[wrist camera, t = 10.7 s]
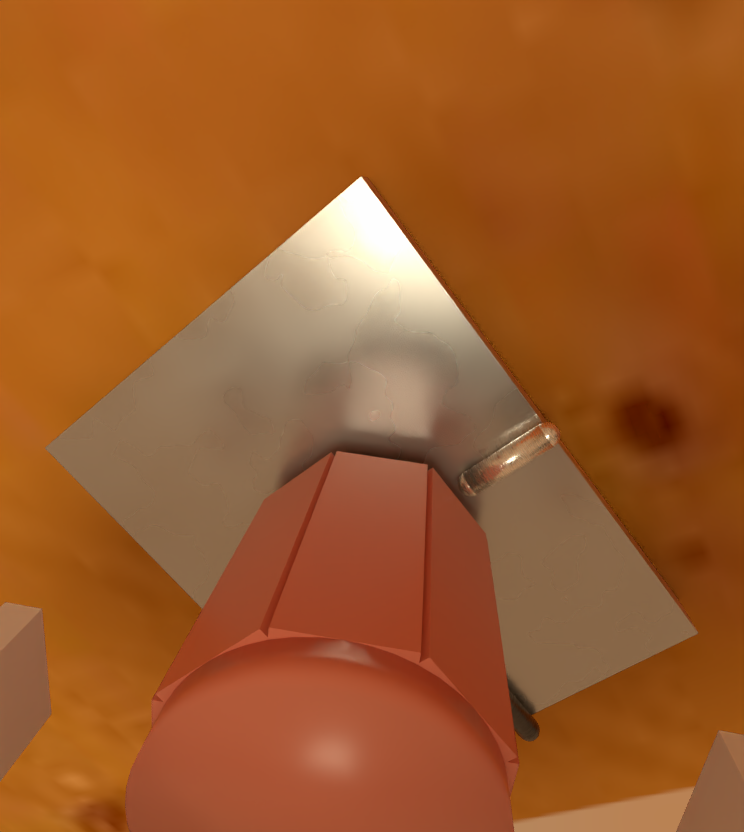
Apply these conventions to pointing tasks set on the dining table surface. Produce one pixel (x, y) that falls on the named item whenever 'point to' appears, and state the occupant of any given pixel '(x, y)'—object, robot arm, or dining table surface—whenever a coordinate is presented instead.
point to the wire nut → (339, 671)
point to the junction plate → (372, 444)
